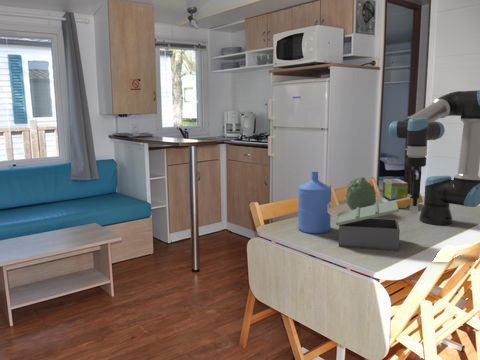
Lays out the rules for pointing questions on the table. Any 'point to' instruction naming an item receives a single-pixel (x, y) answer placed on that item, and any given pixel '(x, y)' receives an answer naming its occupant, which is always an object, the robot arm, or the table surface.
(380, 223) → the parts tub
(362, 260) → the table surface
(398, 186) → the tea box
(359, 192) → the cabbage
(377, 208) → the lid
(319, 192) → the water jug
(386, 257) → the table surface
